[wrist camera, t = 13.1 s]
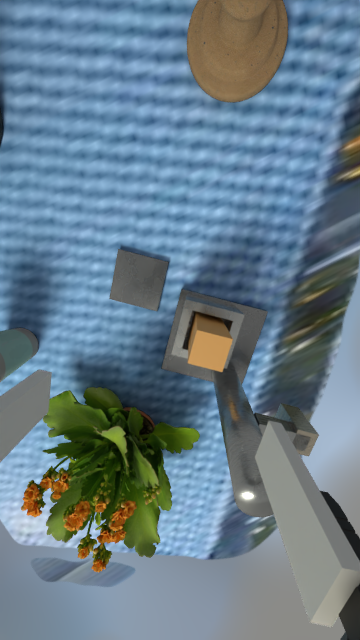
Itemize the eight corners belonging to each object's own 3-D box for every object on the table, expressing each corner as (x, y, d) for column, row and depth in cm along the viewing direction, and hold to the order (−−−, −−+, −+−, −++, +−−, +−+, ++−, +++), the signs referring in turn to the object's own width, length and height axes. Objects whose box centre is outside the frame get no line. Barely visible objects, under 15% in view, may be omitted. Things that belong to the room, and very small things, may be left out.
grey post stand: (181, 288, 36) (166, 320, 15) (296, 318, 36) (447, 393, 15) (162, 366, 39) (126, 484, 18) (267, 393, 39) (356, 542, 18)
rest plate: (119, 249, 35) (118, 248, 35) (168, 262, 35) (168, 262, 35) (110, 298, 37) (109, 298, 36) (157, 310, 37) (157, 311, 37)
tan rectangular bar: (195, 309, 36) (197, 330, 24) (219, 315, 36) (233, 339, 24) (189, 332, 37) (187, 363, 25) (212, 338, 37) (222, 372, 25)
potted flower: (193, 368, 39) (193, 446, 22) (206, 477, 44) (214, 608, 28) (57, 380, 41) (-37, 460, 24) (85, 483, 47) (24, 608, 30)
